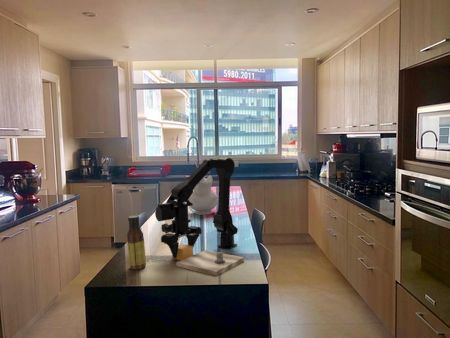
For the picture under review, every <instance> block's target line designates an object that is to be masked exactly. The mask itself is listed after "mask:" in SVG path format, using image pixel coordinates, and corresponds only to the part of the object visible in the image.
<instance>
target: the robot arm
mask: <svg viewBox="0 0 450 338" xmlns="http://www.w3.org/2000/svg"><path fill="white" fill-rule="evenodd" d="M212 169H215V171H216V174H217V176H218V203H217V207H218V208H217V211H216V213H214V214H213V213H212V214H213V217H212V218H213V220H212V224H213V226H214V227H215V228H216V231H217V232H218V233H219V236H220V237H219V245H217V247H218V248H222V249H228V250H230V249H232V248H235V247H236V246H238V243H235V235H237V234H238V231H239V229H238V228H237V226H236V225H235V224H233V223H234V222H233V216H232V214H231V211H230V197H231V196H230V195H231V192H230V191H231V178H232V175H233V174H234V171H235V161H234V160H233V159H232V158H231V157H219V158H218V159H213V158H205V159H203V160H202V162H201V163H200V164H199V165H198V167H197V168H196V169H195V170H194V171H193V172H192V173H191V174H190V175H189V176H188V177H187V178H186V179H185V180H184V181H181V182H180V183H179V184H177V185H175V186H174V187H173V188H172V189H171V191H170V195H169V197H168V198H167V199H166V202H165V203H157V207H156V208H155V212H154V215H155V219H156V220H157V221H158V222H164V221H170V220H172V221H171V224H168V223H162V224H161V232H162V233H165V234H162V235H161V236H160V241H161V243H163V244H165V245H167V246H168V248H169V250H170V252H171V256H172V255H173V257H174V258H176V257H177V252H178V246H179V245H180V242H179V239H180V238H183V237H185V238H186V239H187V245H190V246H193V248H194V247H195V245H196V242H197V241H198V239H199V237H200V236H201V234H202V228H201V227H200V226H195V225H191V226H190V225H189V223H191V219H189V207H190V206H192V205H193V204H192V203H191V202H190V201H189V200H188V199H189V198H190V196H191V195H192V193H193V191H194V188H195V186H196V185H197V184H198V183H199V182H200V181H201V180H202V179H203V178H206V177H205V176H206V175H208V173H210V171H211V170H212Z"/></svg>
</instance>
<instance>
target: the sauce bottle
mask: <svg viewBox="0 0 450 338" xmlns="http://www.w3.org/2000/svg"><path fill="white" fill-rule="evenodd" d="M127 221H128V226H129V227H128V231H127V232H126V233H127V234H126V238H127V240H126V241H127V242H126V244H127V251H128V253H127V254H128V263H129V264H128V265H129V267H130V269H131V270H136V271H137V270H141V269H144V268H145V267H147V263H146V261H147V260H146V257H147V256H146V249H145V248H146V247H145V238H144V232H143V230H142V229H141V227H140V216H139V215H130V216H128V217H127Z"/></svg>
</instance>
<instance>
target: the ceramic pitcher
mask: <svg viewBox="0 0 450 338" xmlns="http://www.w3.org/2000/svg"><path fill="white" fill-rule="evenodd" d="M207 175H208V174H207ZM213 181H214V180H213V176H212V175H208V176H207V178H206V177H204V178H203V179H202V180H201V181H200V182H199V183H198V184H197V185H196V186H195V188H194V190H193V193H192V195H191V196H190V198H189V199H188V200H189V201H190V202H191V203H192V204H193V205H192V206H189V208H191V209H192V210H193V211H195V212H194V214H196V215H197V216H198V215H200V216H201V215H203V216H205V215H211V214H213V211H212V210H214V209H215V208H216V207H217V206H218V198H219V196H218V195H217V193H215V192H213V190H212V185H213Z"/></svg>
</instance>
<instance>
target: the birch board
mask: <svg viewBox="0 0 450 338" xmlns="http://www.w3.org/2000/svg"><path fill="white" fill-rule="evenodd" d="M244 262H245V258H244V257H243V256H237V255H233V254H228V253H224V252H222V251H212V250H207V249H205V250H203V251H200V252H198V253H195V254H193V256H190V257H188V258H186V259H183V260H178V261H177V262H176V267H179V268H184V269H188V270H192V271H195V272H200V273H204V274H207V275H211V276H218V275H219V276H220V275H221V274H222V273H224V272H226V271H228V270H230V269H232V268H234V267H236V266H238V265H240V264H241V263H244Z"/></svg>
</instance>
